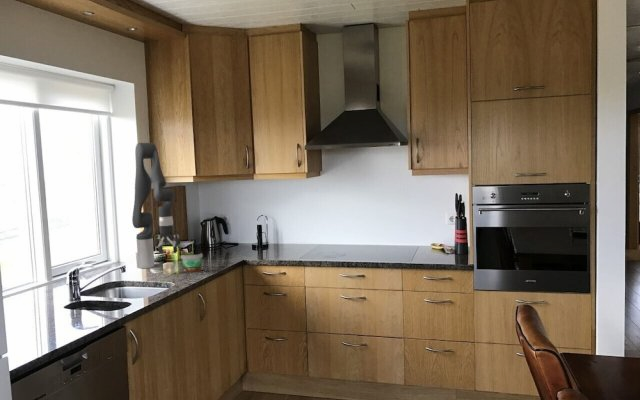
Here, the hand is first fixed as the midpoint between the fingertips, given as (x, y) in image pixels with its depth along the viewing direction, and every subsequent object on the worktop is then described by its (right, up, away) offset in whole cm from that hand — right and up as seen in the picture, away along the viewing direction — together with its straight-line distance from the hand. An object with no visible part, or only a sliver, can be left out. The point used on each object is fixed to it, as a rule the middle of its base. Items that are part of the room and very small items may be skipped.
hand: (168, 253), depth 295 cm
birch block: (0, -12, +1) cm, 12 cm away
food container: (+13, -11, +3) cm, 17 cm away
